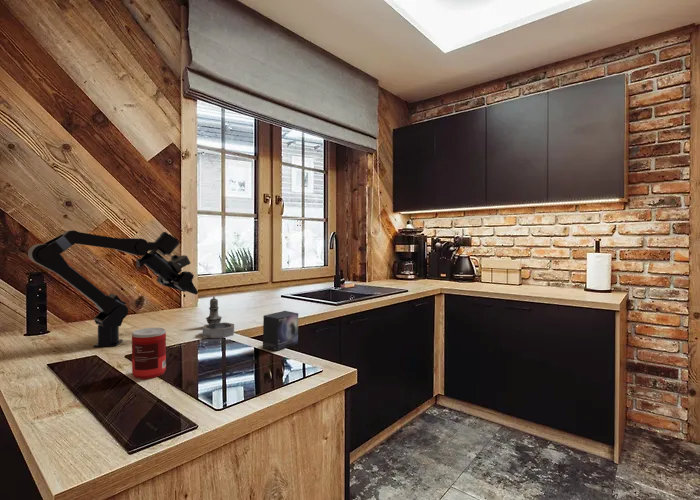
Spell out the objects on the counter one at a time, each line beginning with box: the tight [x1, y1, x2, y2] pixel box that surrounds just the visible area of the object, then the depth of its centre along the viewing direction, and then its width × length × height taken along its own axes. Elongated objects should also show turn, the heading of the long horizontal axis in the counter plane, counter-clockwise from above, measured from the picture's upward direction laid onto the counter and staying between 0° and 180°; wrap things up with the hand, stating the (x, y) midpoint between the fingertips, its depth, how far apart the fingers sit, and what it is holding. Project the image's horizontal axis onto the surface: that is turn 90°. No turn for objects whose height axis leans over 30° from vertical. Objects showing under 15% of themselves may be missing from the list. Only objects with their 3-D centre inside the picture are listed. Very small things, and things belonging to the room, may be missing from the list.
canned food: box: [131, 327, 167, 380], centre depth 97 cm, size 8×8×11 cm
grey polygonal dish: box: [202, 322, 235, 339], centre depth 137 cm, size 10×10×3 cm
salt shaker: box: [205, 296, 223, 324], centre depth 148 cm, size 6×6×12 cm
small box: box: [262, 310, 299, 352], centre depth 123 cm, size 11×6×10 cm, turn 149°
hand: (191, 292), depth 143 cm, fingers open, 9 cm apart
